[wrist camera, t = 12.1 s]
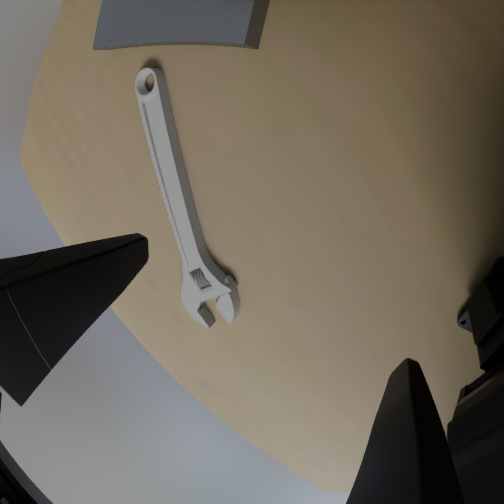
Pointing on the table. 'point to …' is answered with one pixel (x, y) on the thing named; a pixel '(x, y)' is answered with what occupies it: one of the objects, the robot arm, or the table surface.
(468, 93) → the table surface
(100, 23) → the slot plate
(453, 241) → the table surface
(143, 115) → the adjustable wrench
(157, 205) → the table surface
